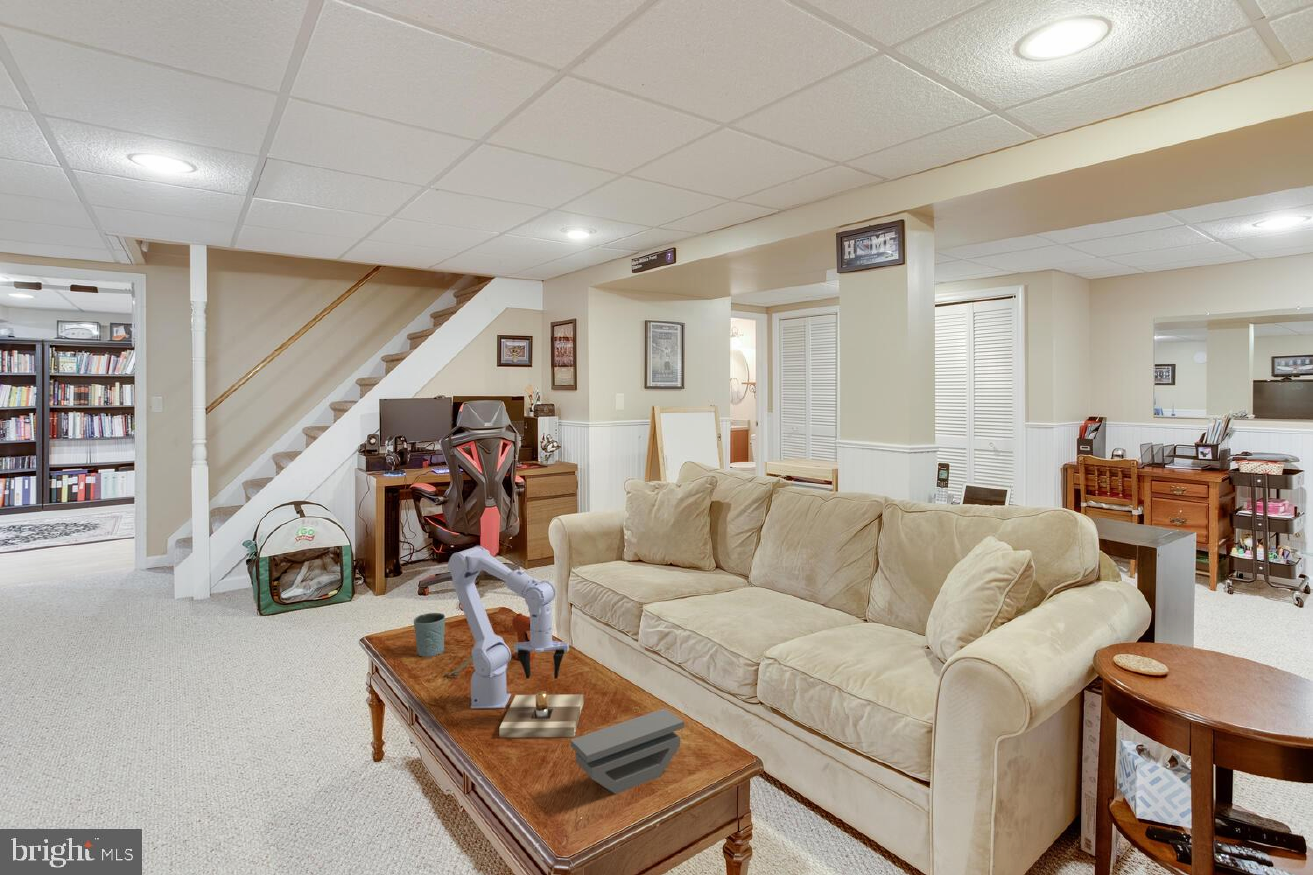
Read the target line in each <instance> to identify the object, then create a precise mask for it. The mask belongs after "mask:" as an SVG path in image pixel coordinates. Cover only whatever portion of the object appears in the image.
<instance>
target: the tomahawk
mask: <svg viewBox="0 0 1313 875" xmlns="http://www.w3.org/2000/svg"><path fill="white" fill-rule="evenodd" d="M471 662H473V657H472V655H471V656H469V657H468V658H467V659H466V660H464V662H463V663H462V664H460V666H458V667H457V668H456V669H455V670H453V671H452V673H451V674H448V673H447V674H446V673H445V674H444V675H443V678H444V677H447V678H448V679H451V678H453V679H454V680H457V679H458V675H459V672H460V671H462V670H463V669H464V668H465V667H466V666H468V665H469V663H471ZM449 675H450V676H449ZM447 678H446V679H447Z"/></svg>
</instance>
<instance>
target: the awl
mask: <svg viewBox="0 0 1313 875" xmlns="http://www.w3.org/2000/svg"><path fill="white" fill-rule="evenodd" d="M534 695H535V698H536V719H549V718H548V708H547V695H548V693H547V691H546V690H539V691H536V692H535V694H534Z"/></svg>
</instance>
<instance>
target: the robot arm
mask: <svg viewBox="0 0 1313 875" xmlns="http://www.w3.org/2000/svg"><path fill="white" fill-rule="evenodd" d="M447 568H448V570H449V572H450V575H451V578H452V585H453V587H454V590H455V592H456V595H457V598H458V600H459V603H460V605H461V608H462V611H463V613H464V616H465V619H466V621H467V624H468V626H469V629H470V631H471V634H472V637H473V640H474V641H475V642H474V645H473V647H472V649H471V651H470V652H471V656H472V657H473V660H472V664H473V669H474V672H473V673H472V676H471V679H470V680H471V681H470V697H471V698H470V699H471V700H470V701H471V706H470V708H471V709H505V708H506V706H507V704H508V702H509V700H510V698H511V696H512V693H508V692H507V690H508V689H507V687H508V686H507V685H508V684H507V669H508V664H509V662H510V661H511V659H512V651H511V650H510V647H509V646H508V645H507V644H506V643H505V640H504V639H503V637H502V636H500V635H498V634H495V632H494V630H493V627H492V624H491V621H490V619H489V616H488V614H487V612H486V609H485V607H484V604H483V601H482V600H481V596H480V593H479V591H478V588H477V586H476V583H475V582H476V579H477V577H478V575H479V574H480V573H481V571H484V572H486V573H487V574H490V575H492V576H494V577H495V578H498V579H500V580H501V581H504V582H505V585H506V588H507V589H508V590H510V591H512V592H513V593H515V594H516V595H518V596H519V597H521V598H523V599H524V601H525V604H526V605H527V607H528V613H529V617H530V631H529V632H530V633H529V634H530V641H528V642H520V643H518V642H515V643H514V644H513V652H514V653H515V652H518V655H517V657H518V659H519V660H518V659H517V660H518V661H519V662H520V664H521V666H522V669H523V672H524V674H525V679H526V680H527V679H530V678H531V661H530V651H531V652H535V653H542V652H554V653H553V656H552V657H553V663H554V664H553V666H554V671H553V672H554V673H553V674H554V679H555V680H556V679H558V677H559V673H560V672H559V671H560V667H561V664H562V660H563V659H564V658H563V657H564V654H565V653H568V652H569V650H570V642H566V641H565V642H563V641H558V640H557V641H556V640H553V629H552V628H553V625H552V624H553V622H552V618H553V617H552V601H553V600H554V599H555V597H556V589H555V587H554V585H553V584H552V583H550V582H549V581H548V580H542V581H540V580H539V579H538V578H534V577H533V576H530V575H529V574H528V573H526V571H525V570H523V569H515V570H512V568H509V567H508V566H507V565H505V564H504V563H503V562H501V561H500V560H498V559H497V558H495V557H494V556H492V555H491V552H490V550H488V549H486V548H484V546H481V545H475V546H473V547H471V548H468V549H464V550H462V551H459V552H454V553H452V554H451V556H450V557H449V560H448V563H447Z"/></svg>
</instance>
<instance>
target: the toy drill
mask: <svg viewBox="0 0 1313 875" xmlns="http://www.w3.org/2000/svg"><path fill="white" fill-rule="evenodd" d="M511 623H512V624H511V625H512V628H513V630H514V631H515V632H516V634H517V643H520V642H528V641H531V639H529V636H528V632H530V616H527V615H524V614H523V613H522V612H518V613H517V614H516V615H515V616H514V617H513V619H512V621H511ZM513 655H514V658H515V659H516V660H518V661H519V659H518V657H517V655H518V652H514V654H513ZM534 659H535V654H534V653H533V651H530V662H532V661H533V660H534Z"/></svg>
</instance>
